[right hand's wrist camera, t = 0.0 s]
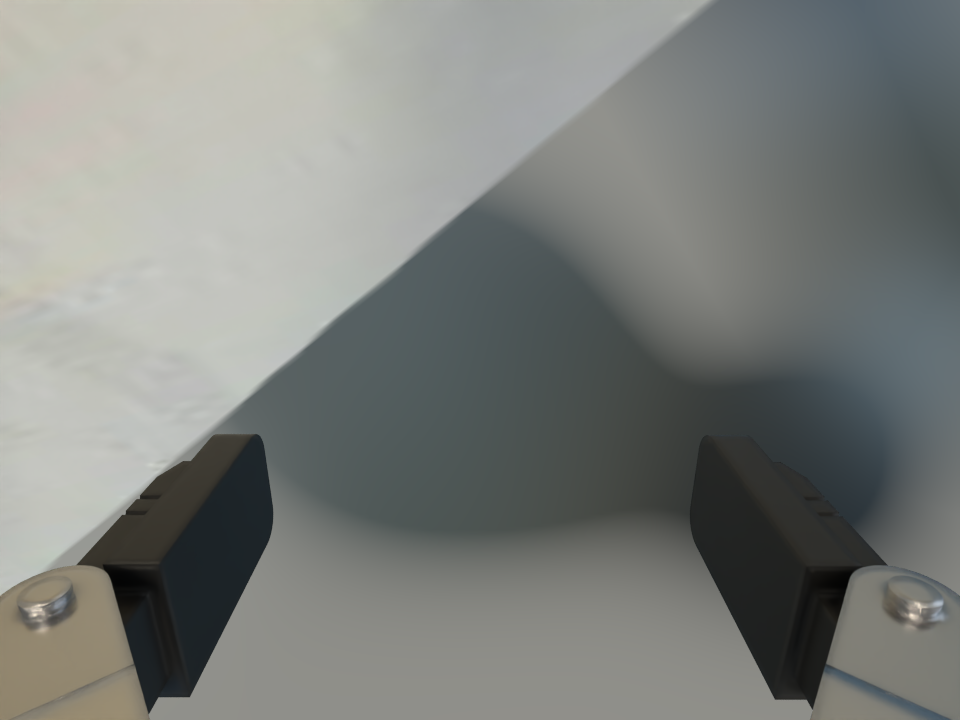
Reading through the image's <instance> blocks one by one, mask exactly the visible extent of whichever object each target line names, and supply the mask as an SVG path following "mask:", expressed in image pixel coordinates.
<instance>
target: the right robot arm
mask: <svg viewBox="0 0 960 720" xmlns="http://www.w3.org/2000/svg"><path fill="white" fill-rule="evenodd" d="M272 524H273V505H272V498H271V491H270V484H269V477H268V470H267V464H266V457H265V450H264V445H263V441H262V439H261V437H260V436H259V435H257V434H216V435H213V436H212V437H211V438H210V440H209V441H208V442H207V443H206V444H205V445H204V446H203V448H202V449H201V450H200V451H199V452H198V453H197V455H196V456H195V457H194V458H193V459H192V460H191V461H183V462H181V463H179V464H178V465H176V466H174V467H173V468H171V469H169V470H168V471H166V472H164V473H163V474H161V475H159V476H158V477H157V478H156V479H155V480H154V481H153V482H152V483H151V484H150V485H149V486H148V487H147V488H146V490H145V491H144V492H143V493H142V494H141V495H140V499H137V500H135V502H134V503H133V504H132V505H131V506H130V507H129V508H128V509H127V510H126V515H122V516H121V517H120V518H119V519H118V520H117V521H116V522H115V523H114V525H113V526H112V527H111V528H110V529H109V530H108V531H107V532H106V533H105V534H104V536H103V537H102V538H101V539H100V540H99V541H98V542H97V543H96V544H95V545H94V546H93V547H92V549H91V550H90V551H89V552H88V553H87V554H86V555H85V556H84V557H83V558H82V560H81V561H80V562H79V563H78V564H77V565H75V566H67V567H62V568H57V569H53V570H50V571H46V572H43V573H41V574H38V575H36V576H33V577H31V578H29V579H27V580H25V581H23V582H21V583H19V584H17V585H16V586H14V587H12V588H11V589H9V590H8V591H6V592H5V593H3V594H2V595H1V596H0V720H150V718H149V713H150V711H151V709H152V708H153V706H154V704H155V702H156V700H157V699H158V697H190V696H191V693H192V692H193V690H194V688H195V686H196V684H197V682H198V680H199V678H200V676H201V674H202V672H203V670H204V668H205V666H206V664H207V662H208V660H209V658H210V656H211V654H212V652H213V650H214V648H215V646H216V644H217V642H218V640H219V638H220V636H221V634H222V632H223V630H224V628H225V626H226V624H227V622H228V621H229V619H230V616H231V615H232V613H233V611H234V609H235V607H236V605H237V603H238V601H239V599H240V597H241V595H242V593H243V591H244V589H245V587H246V585H247V583H248V581H249V579H250V577H251V575H252V573H253V571H254V569H255V567H256V565H257V563H258V561H259V559H260V557H261V555H262V553H263V551H264V549H265V548H266V545H267V543H268V541H269V538H270V535H271V531H272ZM690 524H691V531H692V535H693V539H694V542H695V544H696V546H697V548H698V550H699V552H700V554H701V556H702V558H703V560H704V562H705V564H706V566H707V568H708V570H709V572H710V574H711V576H712V577H713V579H714V581H715V583H716V585H717V587H718V589H719V591H720V593H721V595H722V597H723V599H724V601H725V603H726V605H727V607H728V609H729V611H730V613H731V615H732V616H733V618H734V620H735V622H736V624H737V626H738V628H739V630H740V632H741V634H742V636H743V638H744V640H745V642H746V644H747V646H748V648H749V650H750V651H751V653H752V655H753V657H754V659H755V661H756V663H757V665H758V667H759V669H760V671H761V673H762V675H763V677H764V679H765V681H766V683H767V685H768V687H769V689H770V691H771V693H772V694H773V696H774V698H775V699H776V700H803V699H804V700H807V701H808V703H809V704H810V706H811V708H812V710H813V711H812V715H811V718H810V720H960V596H959V595H958V594H957V593H955V592H954V591H952V590H951V589H949V588H948V587H946V586H944V585H943V584H941V583H939V582H937V581H935V580H933V579H931V578H929V577H927V576H924V575H922V574H919V573H917V572H914V571H910V570H907V569H903V568H898V567H893V566H888V565H887V564H886V563H885V562H884V561H883V560H882V559H881V558H880V557H879V556H878V554H877V553H876V552H875V551H874V550H873V549H872V548H871V547H870V546H869V545H868V544H867V543H866V542H865V540H864V539H863V538H862V537H861V536H860V535H859V534H858V533H857V532H856V531H855V530H854V529H853V527H852V526H851V525H850V524H849V523H848V522H847V521H846V520H845V519H844V518H843V517H841V516H839V512H838V511H837V510H836V509H835V508H834V507H833V506H832V505H831V504H830V503H829V501H825V500H824V496H823V495H822V494H821V493H820V492H819V491H818V490H817V488H816V487H815V486H814V485H813V484H812V483H811V482H810V481H809V480H808V479H807V478H806V477H804V476H803V475H801V474H799V473H798V472H796V471H794V470H793V469H791V468H789V467H788V466H786V465H784V464H783V463H781V462H772V460H771V459H770V458H769V457H768V456H767V455H766V454H765V452H764V451H763V450H762V449H761V448H760V447H759V445H758V444H757V443H756V442H755V441H754V440H753V439H752V438H751V437H750V436H748V435H706V436H704V437H703V439H702V441H701V443H700V447H699V453H698V460H697V466H696V473H695V480H694V487H693V493H692V500H691V507H690Z"/></svg>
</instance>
